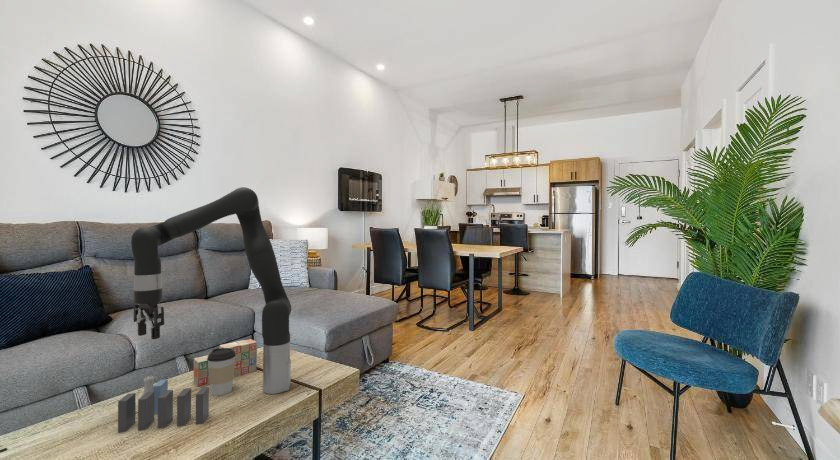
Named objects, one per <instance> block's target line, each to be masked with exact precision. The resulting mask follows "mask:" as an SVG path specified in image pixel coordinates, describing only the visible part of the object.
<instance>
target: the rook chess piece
mask: <svg viewBox="0 0 840 460" xmlns="http://www.w3.org/2000/svg"><path fill="white" fill-rule="evenodd" d="M154 381H155V376H154V375H147V376H144V379H143V380H142V382H143V383H144V384H143V386H144V389H143V393H142V395H141V397H142V396H143V395H144V394H145V393H146V392H153V386H154V385H155V384H154V383H155V382H154ZM141 397H140V398H141Z"/></svg>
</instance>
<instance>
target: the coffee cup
mask: <svg viewBox="0 0 840 460" xmlns="http://www.w3.org/2000/svg"><path fill="white" fill-rule="evenodd" d="M235 356H236V354H235V351H233V350H232V349H231V348H221V349H220V347H219V348H218V347H217V348H214V349H212V350H211V352H210V354H208V358H207V360H208V373H209V383H210V384H209V392H210V393H209V394H210V395H211V396H213V397H217V396H224V395H226V394H229V393H230V392H232V390H233V382H234V378H235V377H234V368H235Z"/></svg>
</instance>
